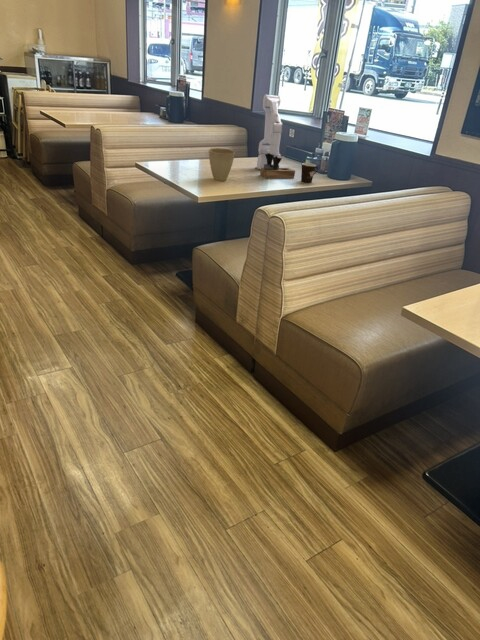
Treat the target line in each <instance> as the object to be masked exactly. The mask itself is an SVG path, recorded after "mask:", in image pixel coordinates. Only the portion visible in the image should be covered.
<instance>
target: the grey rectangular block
mask: <svg viewBox="0 0 480 640" xmlns="http://www.w3.org/2000/svg"><path fill="white" fill-rule="evenodd" d="M279 168H280V165H278V167H277V169H273V164H264V169H265V170H279Z"/></svg>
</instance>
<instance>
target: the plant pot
mask: <svg viewBox="0 0 480 640" xmlns="http://www.w3.org/2000/svg"><path fill="white" fill-rule="evenodd" d="M235 154H236V151H235V150H232V149H228V148H219V147H217V148H216V147H215V148H209V149H208V157H209V165H210V171H211V175H212V178H213V180H215V181H219V182H224V181H227V179H228V177H229V174H230V173H231V169H232V167H233V163H234V158H235V156H236V155H235Z"/></svg>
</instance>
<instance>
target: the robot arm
mask: <svg viewBox="0 0 480 640" xmlns="http://www.w3.org/2000/svg"><path fill="white" fill-rule="evenodd" d="M280 105H281V96H280V95H271V94H267V93H266V94H264V96H263V99H262V110H264V112H265V114H264V115H265V116H264V130H263V131H264V135H263V139H262V140H260V141H259V143H258V157H257V161H256V166H255V168H256V169H258V170H260V171H261V168H264V164H272V163H273V169H277V167H278V165H279V164H280V163H281V161H282V159H283V158H282V154H281V153H280V143H281V139H282V138H281V136H282V134H283V130H284V124H283V121H282V120H281V116H280V113H279V111H278V110H279V107H280ZM279 166H280V165H279Z"/></svg>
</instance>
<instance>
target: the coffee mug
mask: <svg viewBox="0 0 480 640" xmlns="http://www.w3.org/2000/svg"><path fill="white" fill-rule="evenodd" d="M318 169H319V168H318V166H317V165H316V164H314V163H309V162H303V163H301V175H300V176H301V178H300V181H301V182H302V183H308V184H310V183H313V179H314V175H315V174H316V173H317V172H318Z"/></svg>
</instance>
